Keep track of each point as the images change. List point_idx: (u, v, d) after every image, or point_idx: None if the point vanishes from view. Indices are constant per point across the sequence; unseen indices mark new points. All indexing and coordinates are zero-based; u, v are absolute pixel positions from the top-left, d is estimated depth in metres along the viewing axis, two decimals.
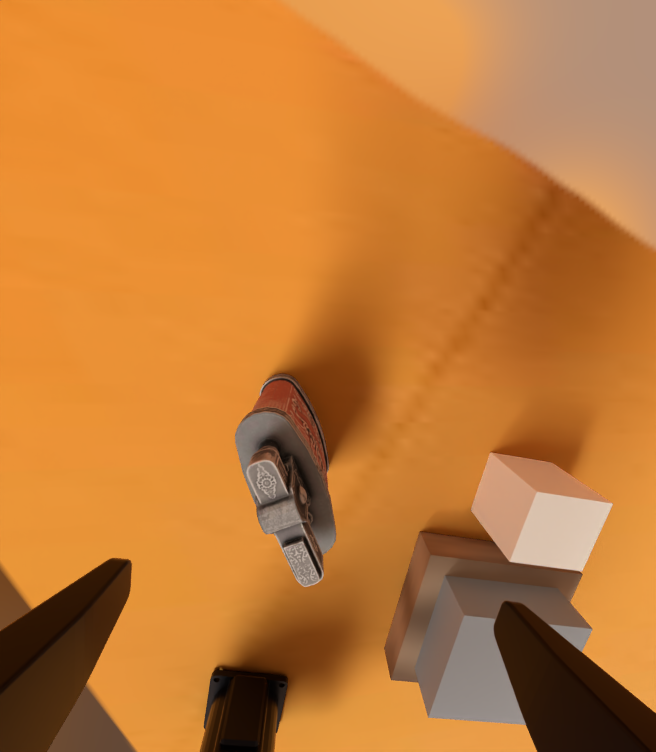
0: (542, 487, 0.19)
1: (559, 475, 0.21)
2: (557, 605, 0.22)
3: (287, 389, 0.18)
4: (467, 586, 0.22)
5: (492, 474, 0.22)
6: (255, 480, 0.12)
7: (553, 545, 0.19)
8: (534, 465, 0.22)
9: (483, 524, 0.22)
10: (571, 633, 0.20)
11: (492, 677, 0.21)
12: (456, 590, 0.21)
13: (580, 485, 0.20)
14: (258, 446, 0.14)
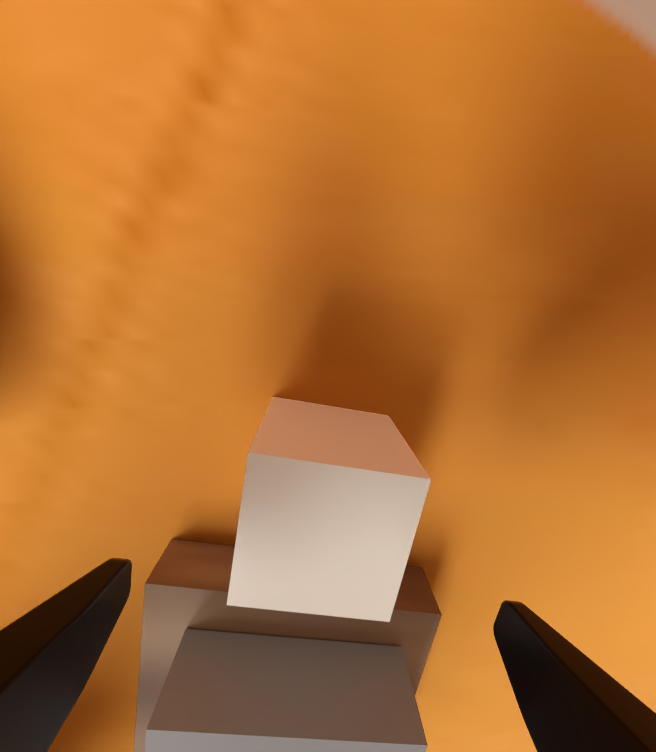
0: (281, 446, 0.09)
1: (371, 431, 0.11)
2: (380, 688, 0.12)
3: None
4: (214, 652, 0.12)
5: None
6: None
7: (315, 569, 0.09)
8: (338, 416, 0.12)
9: None
10: None
11: None
12: (182, 663, 0.11)
13: (394, 447, 0.10)
14: None
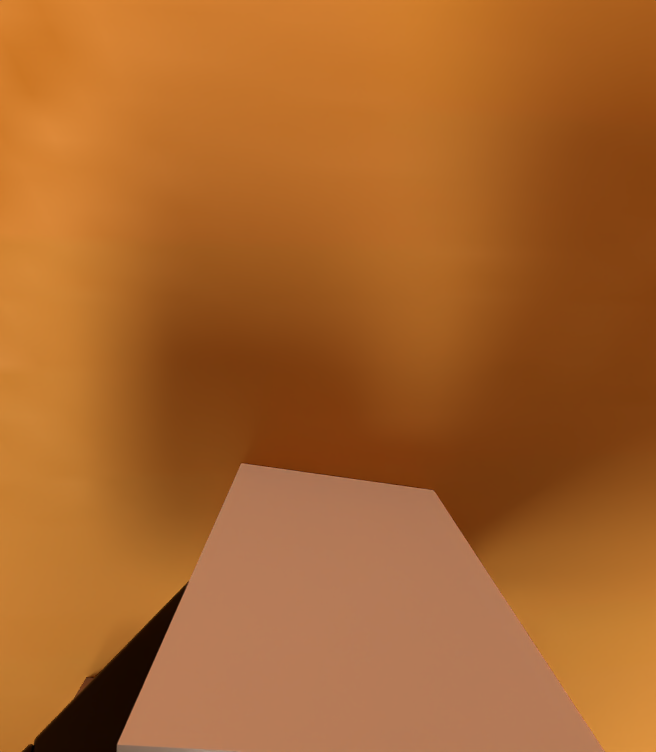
0: (228, 671, 0.03)
1: (419, 550, 0.06)
2: None
3: None
4: None
5: None
6: None
7: None
8: (354, 509, 0.07)
9: None
10: None
11: None
12: None
13: (478, 608, 0.05)
14: None
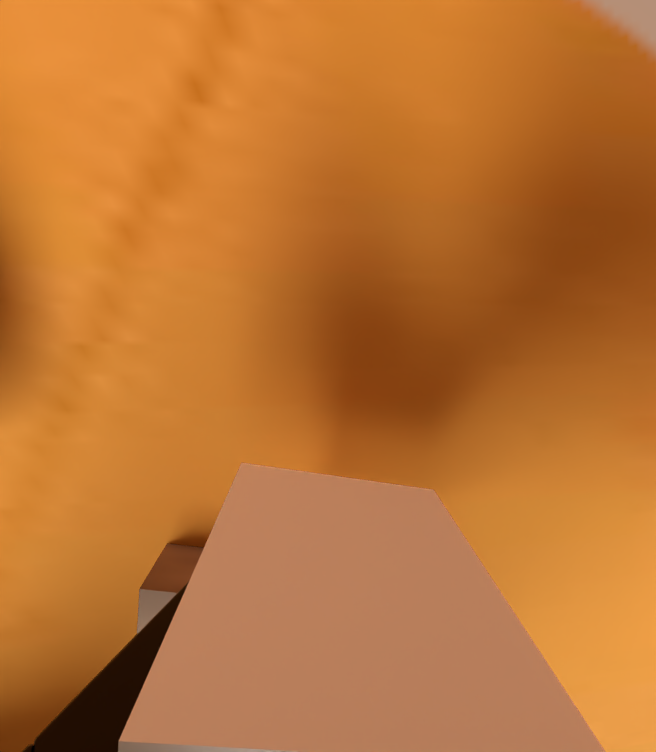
0: (228, 668, 0.03)
1: (419, 549, 0.06)
2: None
3: None
4: None
5: None
6: None
7: None
8: (354, 508, 0.07)
9: None
10: None
11: None
12: None
13: (477, 607, 0.05)
14: None
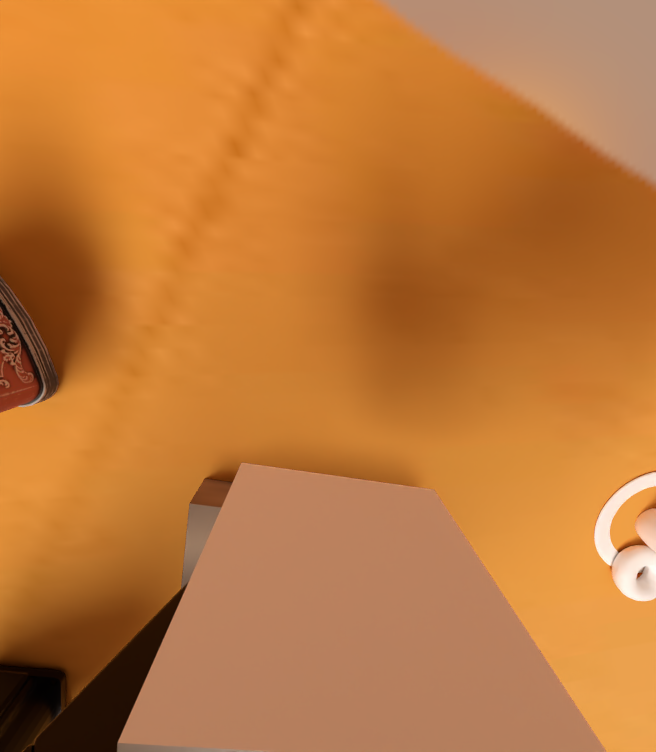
0: (228, 669, 0.03)
1: (419, 549, 0.06)
2: None
3: None
4: None
5: None
6: None
7: None
8: (355, 508, 0.07)
9: None
10: None
11: None
12: None
13: (478, 608, 0.05)
14: None
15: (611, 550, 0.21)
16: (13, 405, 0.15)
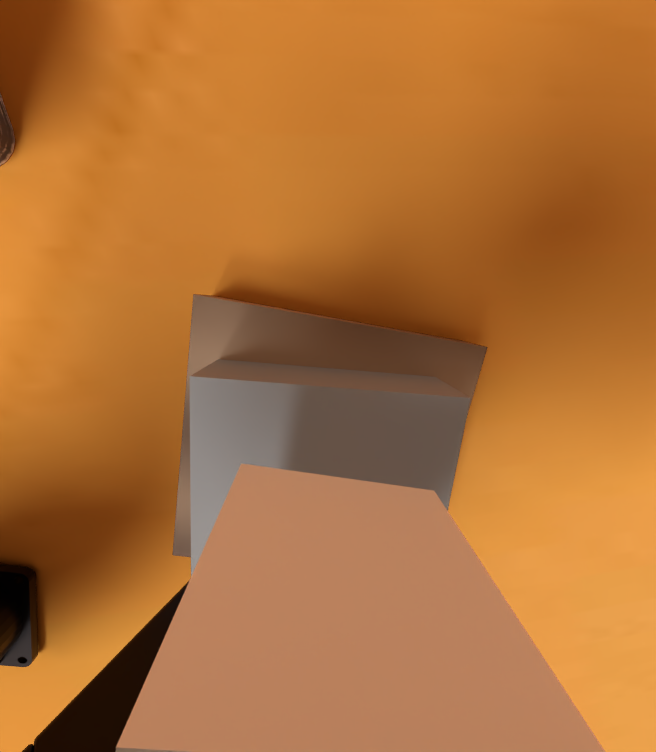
0: (228, 673, 0.03)
1: (420, 551, 0.06)
2: (417, 383, 0.11)
3: None
4: (249, 365, 0.12)
5: None
6: None
7: None
8: (354, 509, 0.07)
9: None
10: (429, 410, 0.10)
11: None
12: (218, 365, 0.11)
13: (479, 610, 0.05)
14: None
15: None
16: None
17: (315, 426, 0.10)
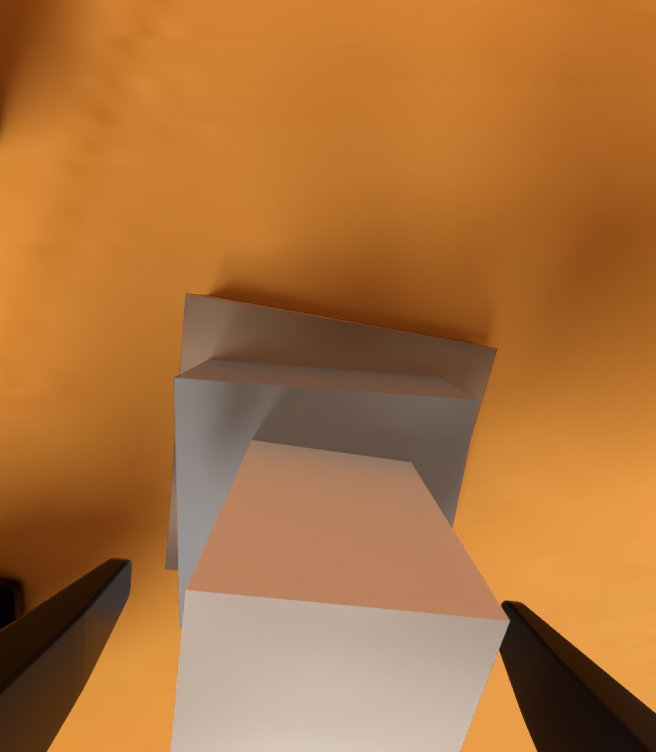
0: (251, 561, 0.05)
1: (392, 501, 0.07)
2: (420, 384, 0.11)
3: None
4: (240, 366, 0.11)
5: None
6: None
7: None
8: (343, 473, 0.08)
9: None
10: (434, 414, 0.09)
11: None
12: (207, 366, 0.11)
13: (432, 536, 0.06)
14: None
15: None
16: None
17: (310, 431, 0.09)
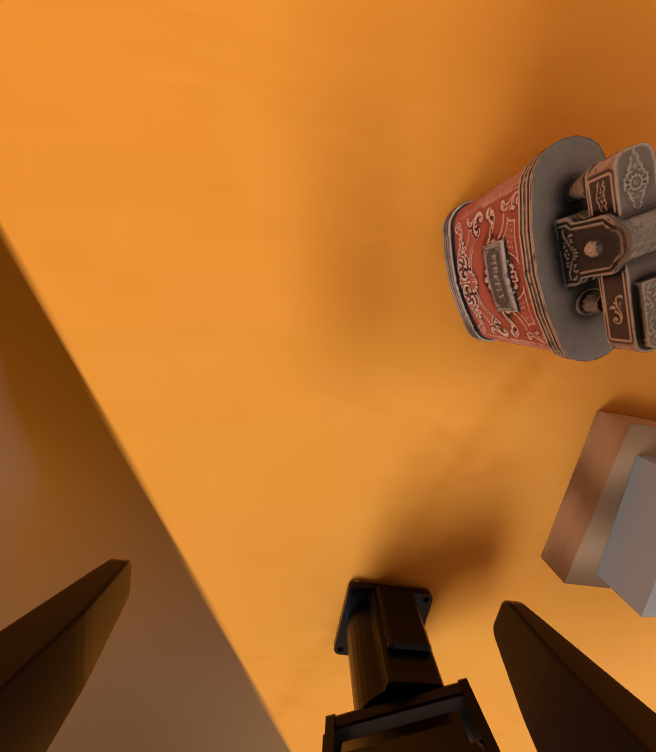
0: None
1: None
2: None
3: None
4: None
5: None
6: (622, 177, 0.09)
7: None
8: None
9: None
10: None
11: None
12: None
13: None
14: (558, 188, 0.11)
15: None
16: None
17: None
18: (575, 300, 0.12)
